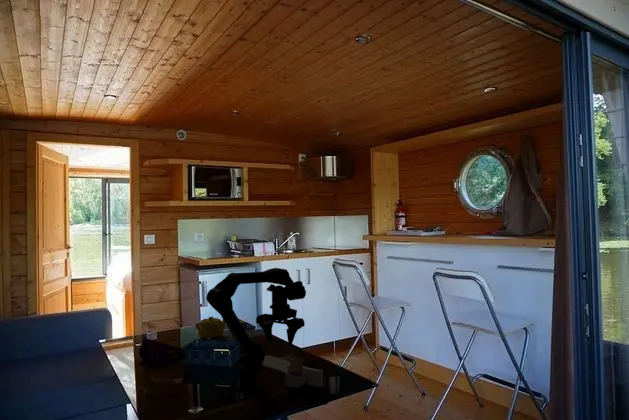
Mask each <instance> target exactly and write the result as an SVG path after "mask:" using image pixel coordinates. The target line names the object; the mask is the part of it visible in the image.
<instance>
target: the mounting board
mask: <svg viewBox="0 0 629 420" xmlns="http://www.w3.org/2000/svg"><path fill="white" fill-rule="evenodd" d="M307 367H308V366H305V367H303V370H307V372H308V383H307V384H306V385H308V386H313V387H317V388H322V387H324V369H319V368H313V367H312V368H311V367H309V368H307ZM289 371H290V365H288V372H289Z"/></svg>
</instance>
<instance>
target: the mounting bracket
mask: <svg viewBox="0 0 629 420" xmlns="http://www.w3.org/2000/svg"><path fill="white" fill-rule="evenodd" d="M170 352H174V353H177V354H181V355H184V354H183V352H184V353H185V351H184V348H181V347H178V346H174V345H171V344H167V343H164V342H161V341H157V340H153V339H149V338H146V337H143V339H142V342H141V344H140V347H139V350H138V355H139V358H140V359H142V360H144V361H146V362H148V361H149V362H150V363H152V364H155V365H158V364H162V363H164V362H165V360H166V359H167V358H168V355H169V353H170Z"/></svg>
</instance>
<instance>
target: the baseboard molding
mask: <svg viewBox="0 0 629 420" xmlns="http://www.w3.org/2000/svg"><path fill="white" fill-rule="evenodd" d="M264 356H265V359H264V362H263V364H262V367H263V366H264V368H266V367H267V369H269V370H273V371H276V372H279V373H280V374H284V375H285V374H286V373H288V365H290V360H289V361H288V360H285V359H283V358H279V357H276V356H273V355H264ZM303 367H307V368H310V367H308V366H305V365H303Z"/></svg>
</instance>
